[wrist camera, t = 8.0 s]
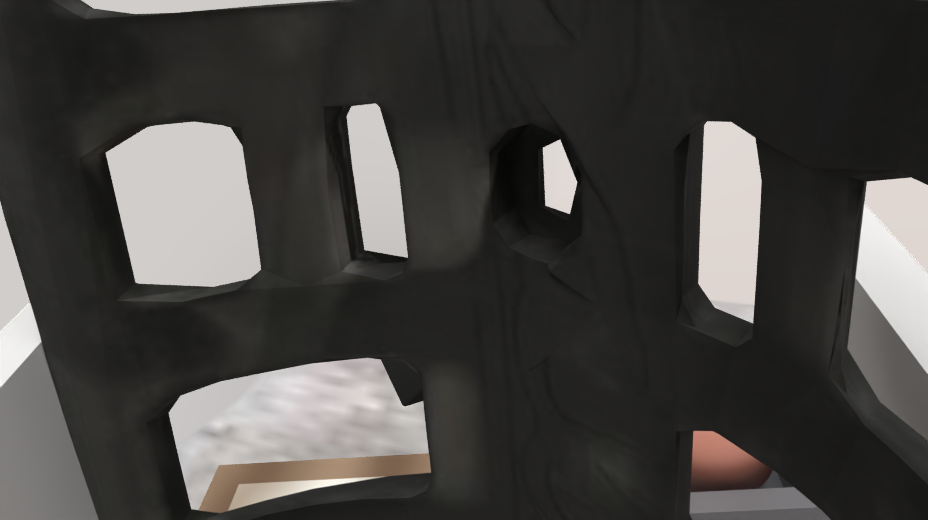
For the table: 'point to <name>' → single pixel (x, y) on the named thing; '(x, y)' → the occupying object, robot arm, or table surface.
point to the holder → (481, 240)
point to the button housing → (755, 503)
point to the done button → (723, 465)
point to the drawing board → (300, 477)
